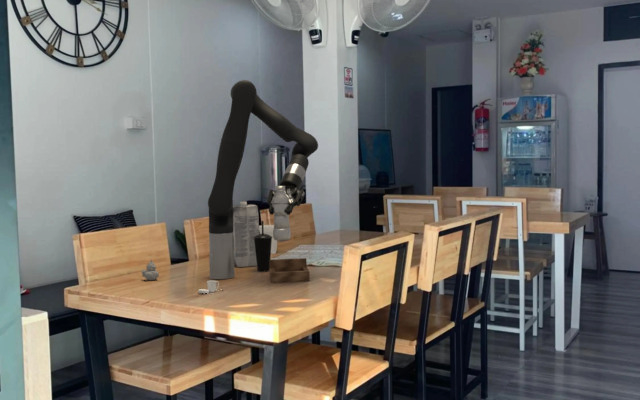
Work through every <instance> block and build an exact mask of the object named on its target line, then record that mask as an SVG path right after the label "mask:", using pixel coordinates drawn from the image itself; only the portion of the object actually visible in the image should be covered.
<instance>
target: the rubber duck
mask: <svg viewBox="0 0 640 400" xmlns="http://www.w3.org/2000/svg"><path fill="white" fill-rule="evenodd" d="M140 271H141V274H142V278H144V279H146V280H147V281H155V280H157V279H158V277H159V275H160V274H159V272H158V270H157V266H156V265H155V262H154V261H153V260H152V259H151V260H150V261H149V262H148V263H147V265H146V269H142V270H140Z"/></svg>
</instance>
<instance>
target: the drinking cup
mask: <svg viewBox="0 0 640 400" xmlns="http://www.w3.org/2000/svg"><path fill="white" fill-rule="evenodd" d="M263 225H264V220H261V226H262V234H260V233H259V234H258V235H256V236H254V237H253V238H254V242H255V252H256V261H257V266H256V267H257V268H256V269H257V271H258V272H268V271H269V272H270V259H271V256H272V254H271V242H272V236H270V235H268V234H264V226H263Z"/></svg>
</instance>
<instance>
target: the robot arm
mask: <svg viewBox="0 0 640 400" xmlns="http://www.w3.org/2000/svg"><path fill="white" fill-rule="evenodd" d="M230 97H231V107H230V112H229V117H228V119H227V122H226V125H225V127H224V130H223V133H222V136H221V139H220V143H219V148H218V155H217V160H216V161H217V163H216V173H215V178H214V181H213V182H214V183H213V185H212V188H211V192H210V195H209V197H208V199H207V207H208V239H209V240H208V241H209V247H208V248H209V253H208V256H209V257H208V260H209V261H208V263H209V264H208V265H209V266H208V267H209V280H210V279H211V280H213V279H214V280H227V279H232V278H235V272H236V271H235V264H234V233H233V205H234V189H235V183H236V179H237V176H238V172H239V170H240V167H241V164H242V161H243V158H244V153H245V148H246V144H247V143H246V142H247V137H248V129H249V121H250V117H251V114H253V116H255V117H257V118H258V119H259V120H260V121H262V123H263V124H265V126H267V127H268V128H269V129H270V130H271V131H272V132H274V134H275V135H277V136H278V137H279V138H281V139H282V141H284V142H286V143H291V142H295V144H294V146H293V148H292V151H291V156H290V157H291V158H290V161H289V163H288V166H287V168H286V169H285V171H284V174H283V176H282V179H281V181H280V183H279V186H285V190H286V191H285V193H286V194H287V196H288V197H289V199H290V203H289V205H288V207H287V209H286V213H287V215H289V216H290V215H291V214H292V212H293V210H294V208H295V207H300V205H301V204H302V202H303V200H304V199H305V196H306V193H305V191H304V189H301V187H302V185H303V182H304V179H305V175H306V172H307V170H308V167H309V164H310V163H309V159H308V158H309V157H310V156H311V155H312V154H313V153H315V152H316V151H317V150H318V148H319V143H318V140H317V139H316V138H315V136H313V134H311V133H309V132H307V131H304V130H303V129H300V128H299V127H297V126H296V125H294V124H293V123H292V122H291V120H289V119H287V118H286V117H285V116H284V115H282V114H281V113H279V112H278V111H277V110H275V109H274V108H273V107H271V106H269V104H267V102H265V101H264V100H263V99H261V97H260V96H259V95H258V92H257V87H256V86H255V84H254V83H253V82H252V81H250V80H248V79H247V80H246V79H241V80H239V81H238V82H235V83H234V84H233V85H232V87H231V89H230ZM268 193H269V194H268V196H267V200H266V202H267V204H268V205H269V208H268V213H269V214H270V215H273V216H274V211H273V205H272V199H273V197H274V195H275V194H276V191H275V190H274V189H270V190H269V192H268Z"/></svg>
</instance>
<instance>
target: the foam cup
mask: <svg viewBox="0 0 640 400" xmlns="http://www.w3.org/2000/svg"><path fill="white" fill-rule="evenodd" d="M263 226H264V234H268V235H270V236H272V242H271V255H275V254H277V248H278V241H276V240H274V238H273V229H274V224H263ZM259 234H262V225H259Z"/></svg>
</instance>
